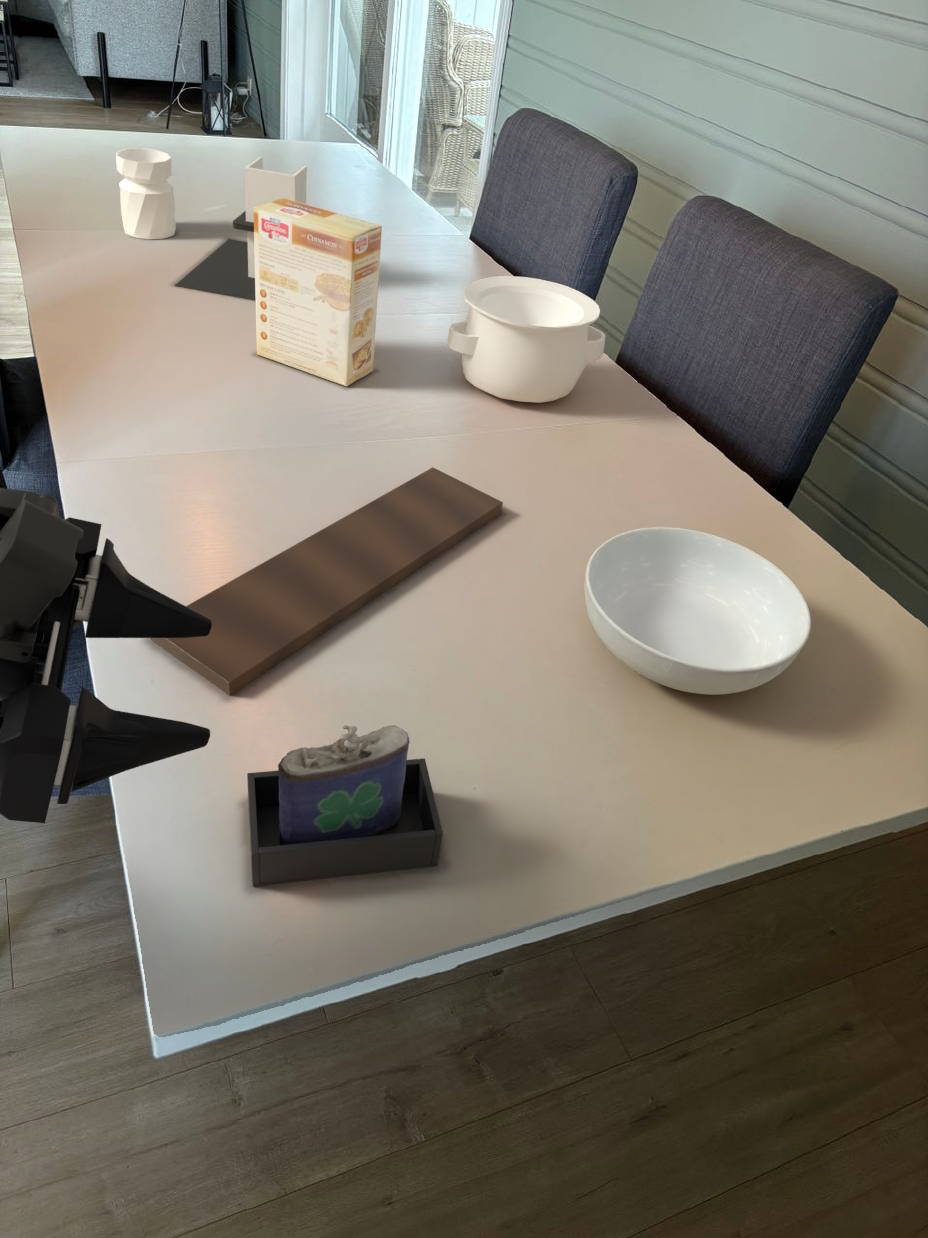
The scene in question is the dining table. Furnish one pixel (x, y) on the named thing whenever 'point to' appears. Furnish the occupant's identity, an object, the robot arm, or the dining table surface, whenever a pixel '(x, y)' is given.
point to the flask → (343, 787)
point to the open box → (394, 850)
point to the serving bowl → (694, 610)
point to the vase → (146, 193)
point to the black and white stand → (236, 259)
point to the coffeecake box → (316, 289)
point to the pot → (526, 337)
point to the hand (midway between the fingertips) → (209, 679)
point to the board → (328, 577)
